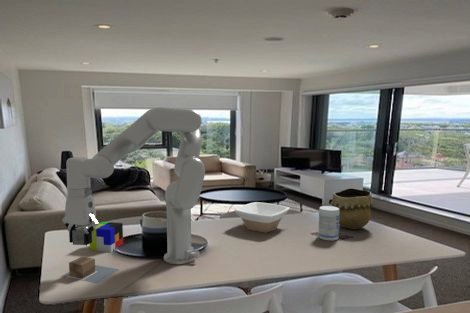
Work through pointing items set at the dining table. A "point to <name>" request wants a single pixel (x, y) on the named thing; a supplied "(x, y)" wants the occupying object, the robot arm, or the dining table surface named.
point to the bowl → (261, 216)
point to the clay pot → (353, 207)
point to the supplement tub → (328, 223)
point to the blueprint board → (96, 274)
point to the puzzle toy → (107, 237)
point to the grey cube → (79, 236)
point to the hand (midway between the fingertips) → (80, 242)
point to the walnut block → (82, 267)
